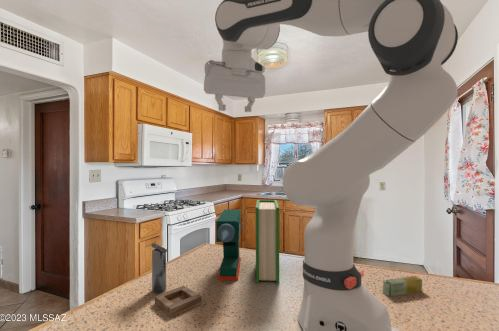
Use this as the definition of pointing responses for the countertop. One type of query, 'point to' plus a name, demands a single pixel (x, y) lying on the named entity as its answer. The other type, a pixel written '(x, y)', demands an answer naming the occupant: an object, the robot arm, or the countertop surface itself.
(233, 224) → the power tool
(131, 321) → the countertop surface
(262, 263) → the hardback book
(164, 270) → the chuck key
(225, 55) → the robot arm
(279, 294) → the countertop surface
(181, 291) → the brown square frame
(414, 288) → the medication box
